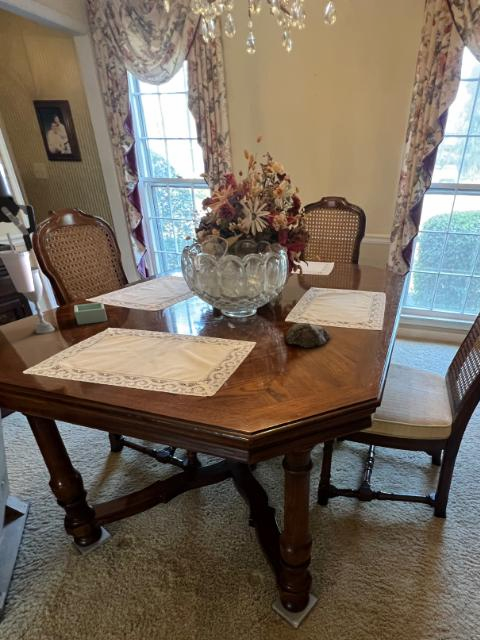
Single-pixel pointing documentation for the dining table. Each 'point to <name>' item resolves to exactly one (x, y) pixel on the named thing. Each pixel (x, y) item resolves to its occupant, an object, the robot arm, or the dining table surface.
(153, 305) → the dining table surface
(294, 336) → the dark rough stone
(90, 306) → the holder
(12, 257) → the smoothie
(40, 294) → the chalice
